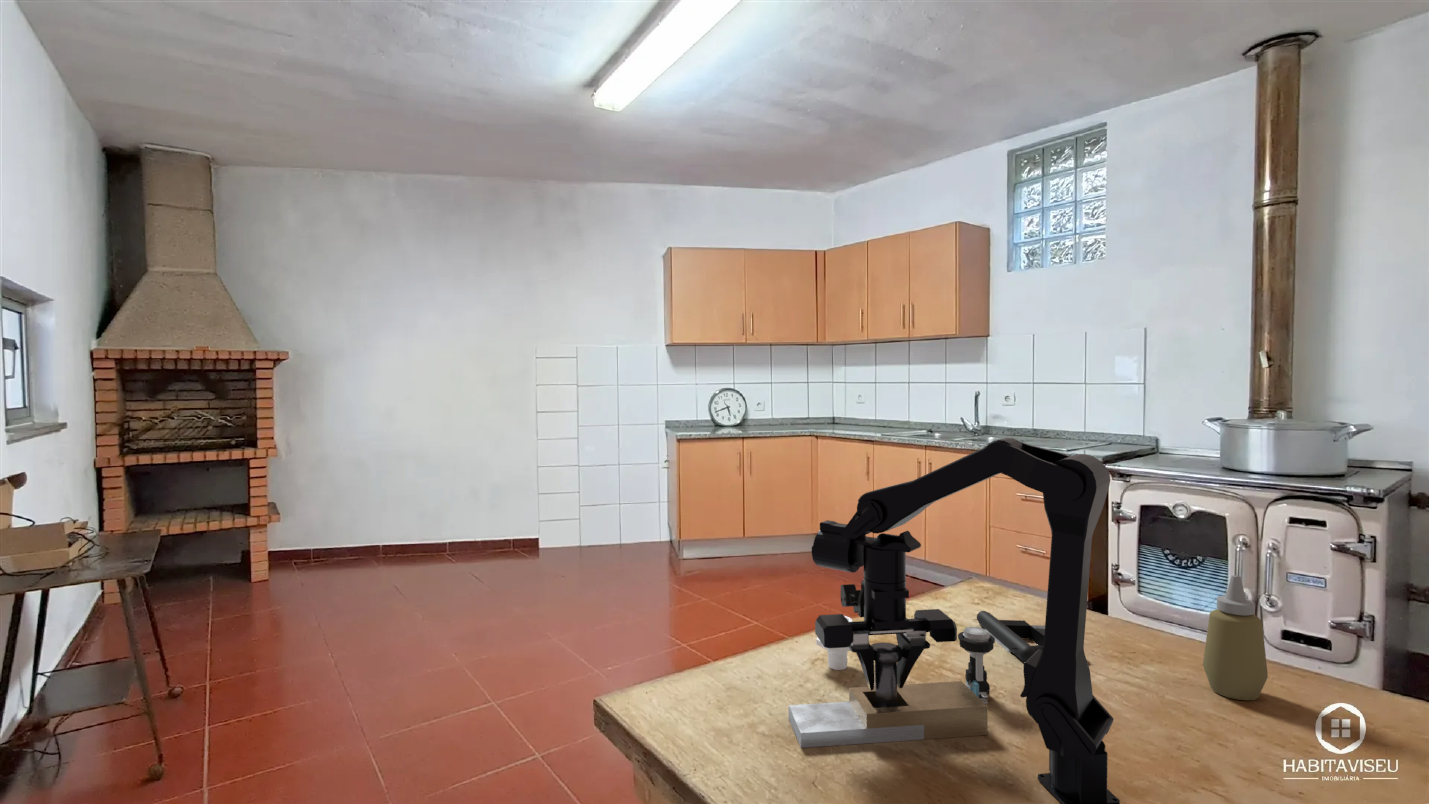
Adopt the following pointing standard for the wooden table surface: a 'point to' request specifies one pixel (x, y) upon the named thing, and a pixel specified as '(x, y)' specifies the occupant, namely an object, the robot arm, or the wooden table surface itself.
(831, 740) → the tan and silver block
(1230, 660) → the squeeze bottle
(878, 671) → the metal knob
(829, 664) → the pipe fitting
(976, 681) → the push button
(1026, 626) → the black frame
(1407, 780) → the wooden table surface
